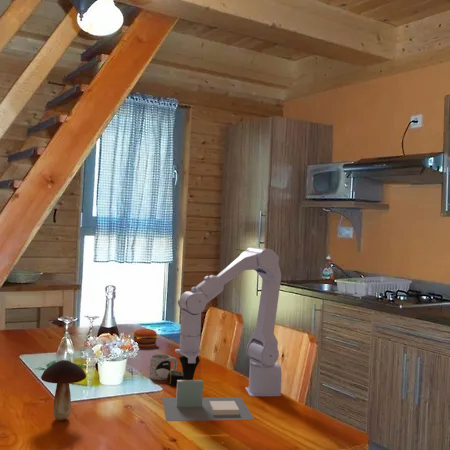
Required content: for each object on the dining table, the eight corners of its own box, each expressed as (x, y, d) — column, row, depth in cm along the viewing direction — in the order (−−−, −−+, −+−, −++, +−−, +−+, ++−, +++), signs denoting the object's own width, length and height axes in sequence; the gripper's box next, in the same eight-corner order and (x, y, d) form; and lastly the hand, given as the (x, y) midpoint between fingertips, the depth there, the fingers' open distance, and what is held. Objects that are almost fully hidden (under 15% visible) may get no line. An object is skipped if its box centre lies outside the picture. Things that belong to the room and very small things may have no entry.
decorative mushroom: (47, 411, 151) (50, 354, 150) (89, 413, 150) (91, 356, 150) (32, 426, 140) (34, 365, 139) (77, 429, 139) (79, 367, 139)
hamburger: (129, 343, 231) (130, 327, 230) (152, 342, 235) (153, 326, 235) (136, 349, 222) (137, 331, 222) (160, 347, 226) (161, 330, 226)
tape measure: (191, 387, 177) (191, 375, 177) (169, 388, 175) (170, 376, 175) (186, 381, 184) (186, 369, 184) (164, 381, 181) (165, 370, 181)
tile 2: (201, 404, 160) (202, 379, 160) (201, 406, 158) (203, 381, 158) (176, 405, 159) (177, 379, 158) (176, 407, 157) (177, 381, 157)
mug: (157, 381, 181) (158, 360, 181) (145, 376, 186) (146, 355, 186) (182, 376, 188) (183, 356, 188) (170, 371, 193) (171, 352, 193)
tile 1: (234, 400, 160) (239, 409, 153) (234, 406, 160) (238, 415, 153) (209, 401, 158) (213, 409, 151) (209, 406, 158) (212, 415, 152)
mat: (240, 398, 168) (241, 397, 168) (254, 421, 150) (254, 419, 150) (161, 399, 164) (162, 397, 164) (166, 422, 146) (166, 420, 146)
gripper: (174, 328, 169) (172, 374, 169) (178, 340, 155) (175, 390, 155) (197, 329, 170) (195, 374, 170) (204, 340, 156) (201, 390, 156)
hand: (188, 382), depth 163 cm, fingers closed
